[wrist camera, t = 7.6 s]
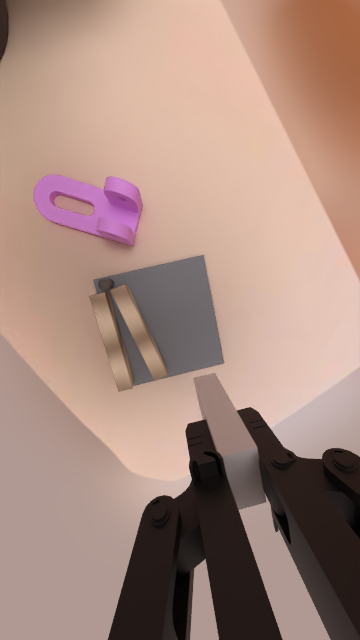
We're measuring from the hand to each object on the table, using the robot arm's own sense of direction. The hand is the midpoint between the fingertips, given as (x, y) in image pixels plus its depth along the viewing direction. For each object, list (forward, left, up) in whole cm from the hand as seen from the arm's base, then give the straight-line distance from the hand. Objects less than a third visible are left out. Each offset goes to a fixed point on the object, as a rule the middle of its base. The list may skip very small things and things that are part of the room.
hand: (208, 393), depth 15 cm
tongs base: (-2, -9, -19) cm, 21 cm away
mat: (-1, -2, -19) cm, 20 cm away
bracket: (-19, -8, -20) cm, 28 cm away
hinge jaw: (-1, -6, -19) cm, 19 cm away
